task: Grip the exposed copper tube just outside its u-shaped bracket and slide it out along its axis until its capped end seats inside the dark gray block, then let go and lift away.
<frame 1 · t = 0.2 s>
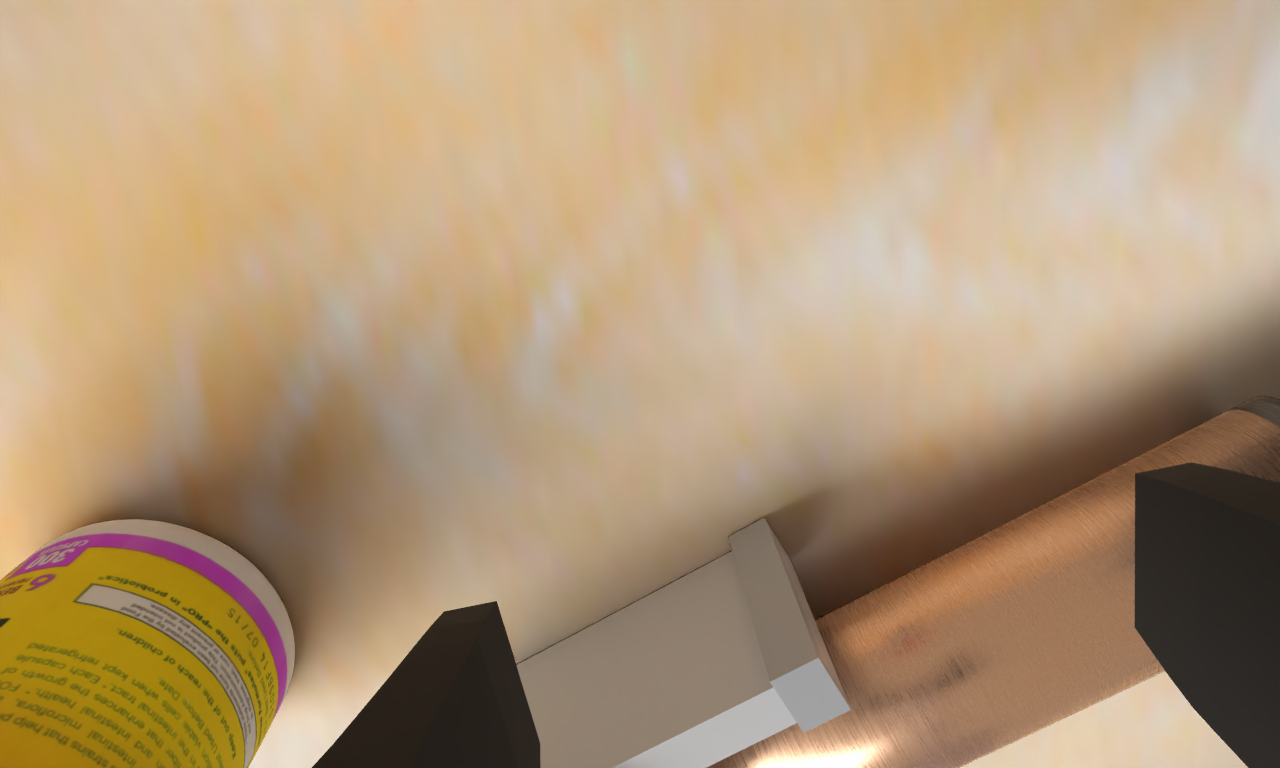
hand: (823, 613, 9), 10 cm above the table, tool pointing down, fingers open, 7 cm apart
supplement bottle: (168, 623, 20), on the table
u-shaped bracket: (681, 708, 22), on the table
tube: (915, 674, 19), point 2 cm above the table, slide at 0.0 cm
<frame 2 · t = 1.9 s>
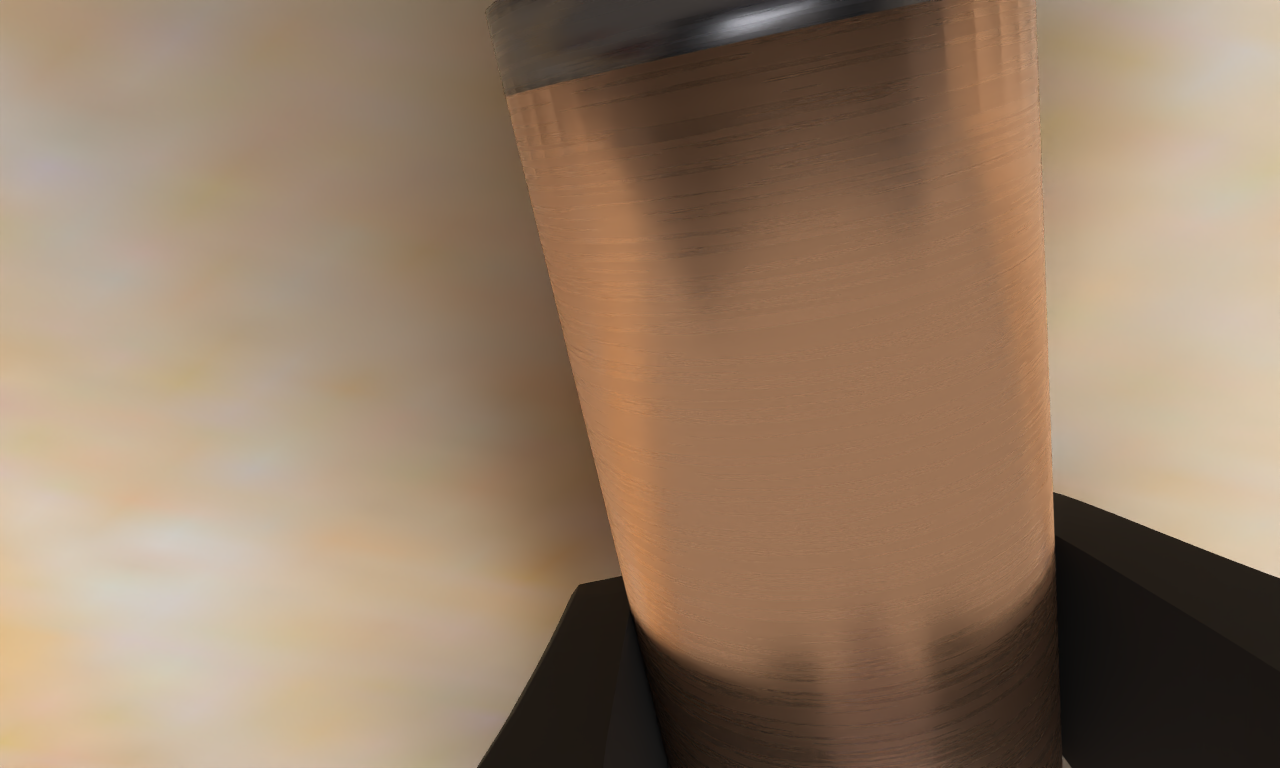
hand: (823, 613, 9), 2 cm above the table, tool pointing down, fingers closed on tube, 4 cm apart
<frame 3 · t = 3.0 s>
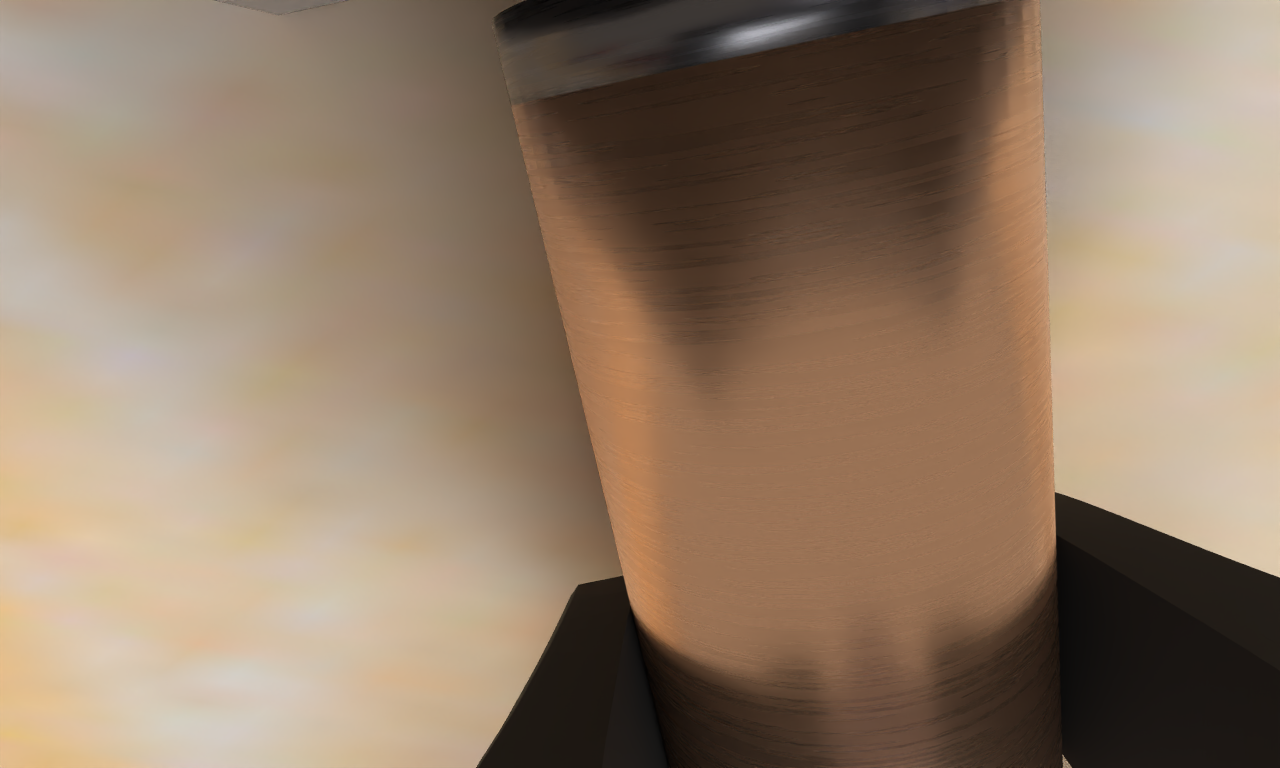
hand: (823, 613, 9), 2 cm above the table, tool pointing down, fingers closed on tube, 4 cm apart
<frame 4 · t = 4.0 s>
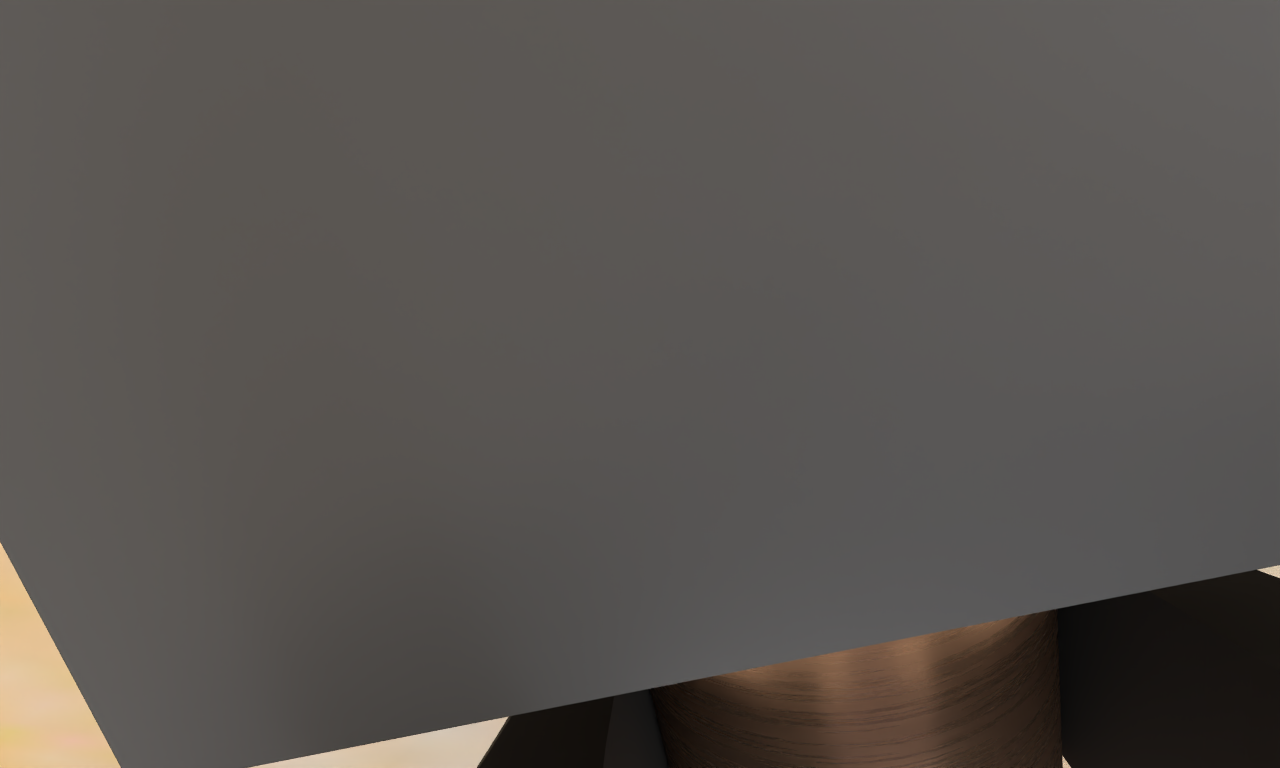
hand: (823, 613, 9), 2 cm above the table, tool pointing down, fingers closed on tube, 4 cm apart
dark gray block: (721, 103, 9), on the table
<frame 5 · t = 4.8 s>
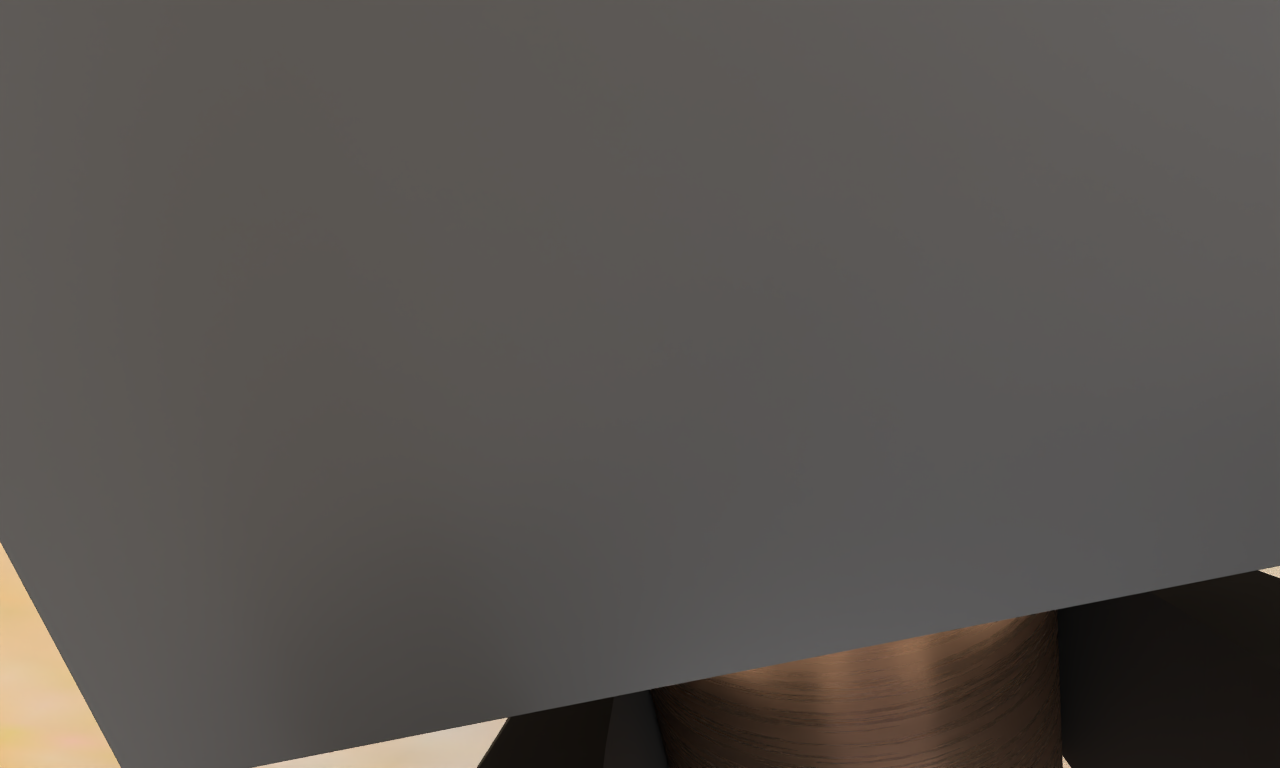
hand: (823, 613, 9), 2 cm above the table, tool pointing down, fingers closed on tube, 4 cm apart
dark gray block: (721, 104, 9), on the table
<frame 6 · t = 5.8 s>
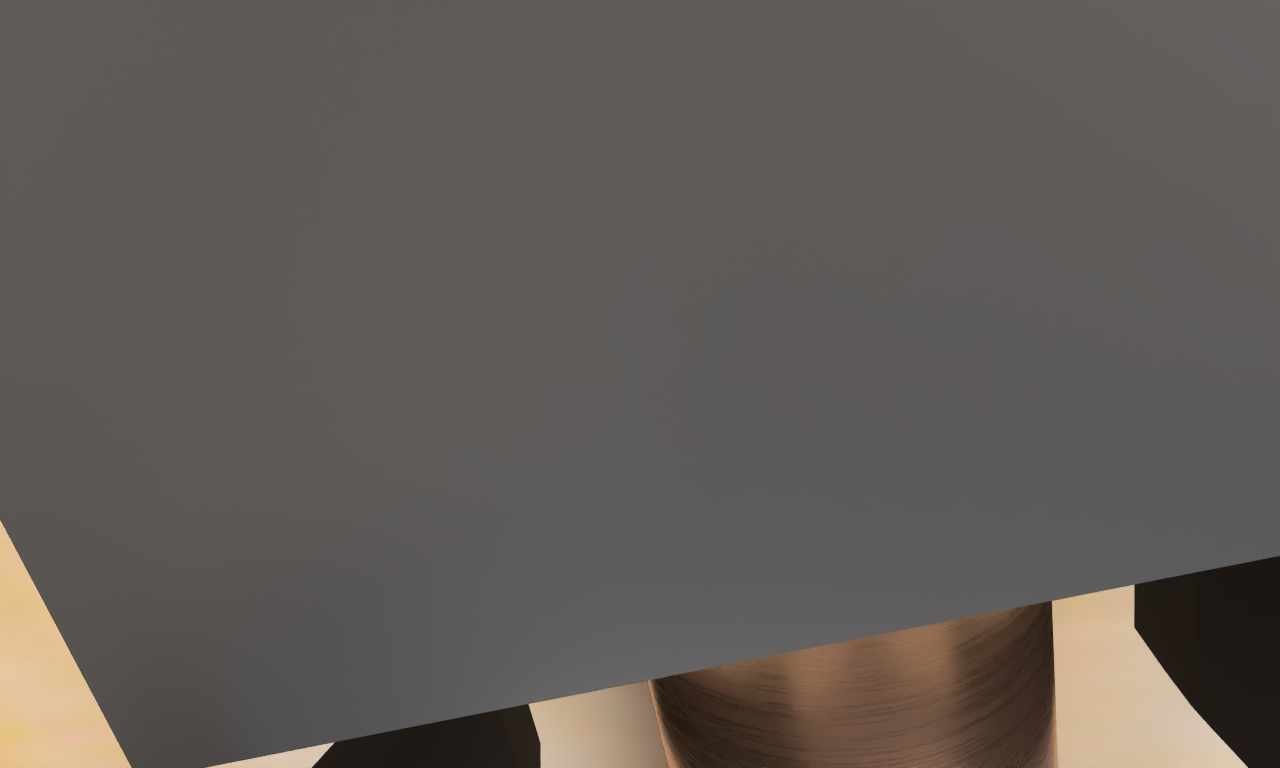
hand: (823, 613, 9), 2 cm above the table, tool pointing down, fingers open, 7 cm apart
dark gray block: (719, 103, 9), on the table
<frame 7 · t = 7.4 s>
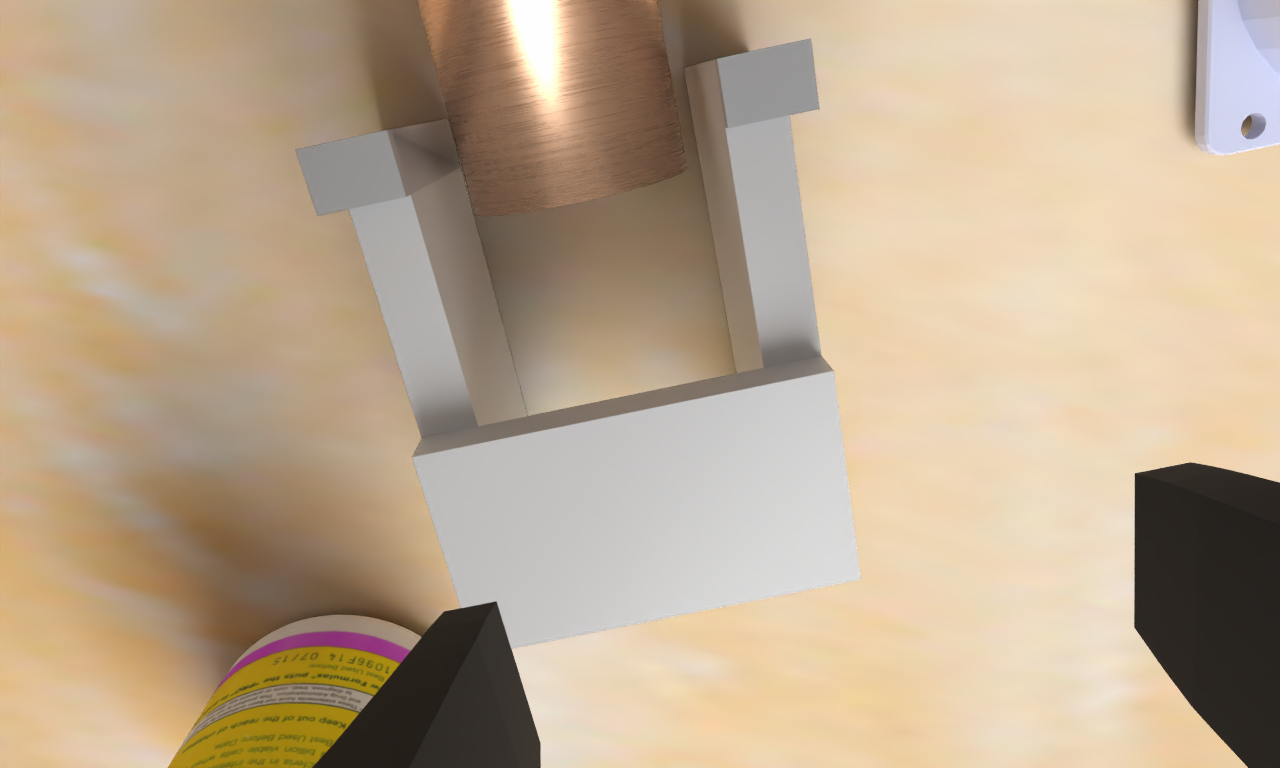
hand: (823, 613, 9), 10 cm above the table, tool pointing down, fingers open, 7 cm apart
supplement bottle: (358, 703, 22), on the table
u-shaped bracket: (611, 300, 19), on the table
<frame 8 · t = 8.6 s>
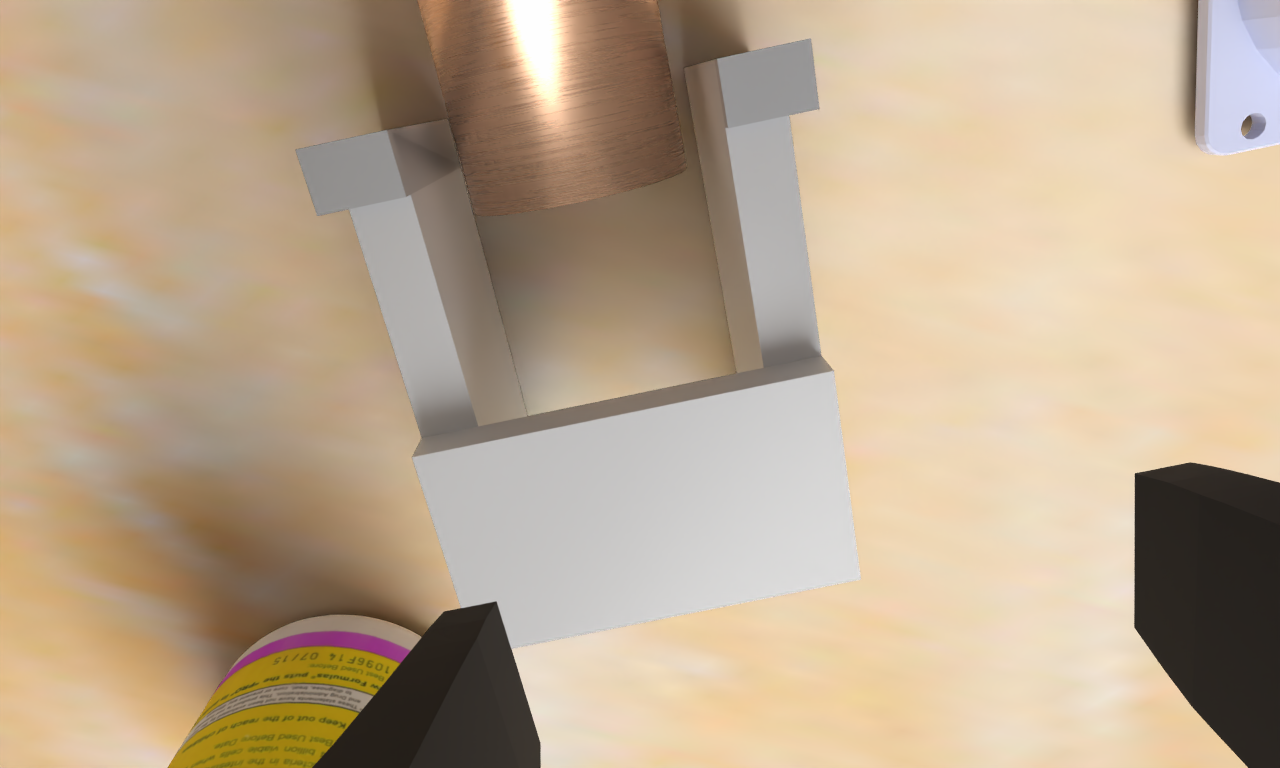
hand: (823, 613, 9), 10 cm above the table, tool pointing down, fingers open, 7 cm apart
supplement bottle: (358, 703, 22), on the table
u-shaped bracket: (611, 300, 19), on the table
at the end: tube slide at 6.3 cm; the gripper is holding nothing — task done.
